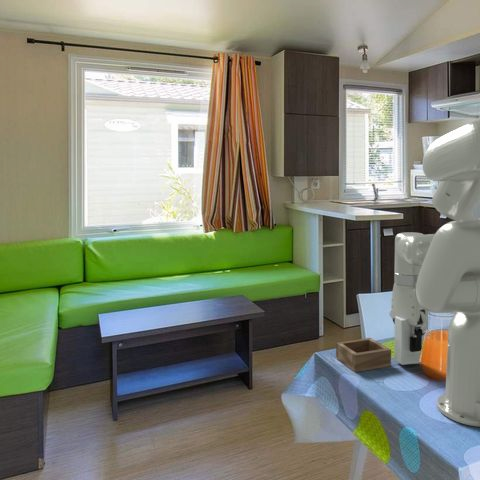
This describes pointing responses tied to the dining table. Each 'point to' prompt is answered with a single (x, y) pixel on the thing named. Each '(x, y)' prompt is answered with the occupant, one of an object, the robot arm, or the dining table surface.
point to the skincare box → (404, 343)
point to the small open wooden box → (363, 354)
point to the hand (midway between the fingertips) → (408, 346)
